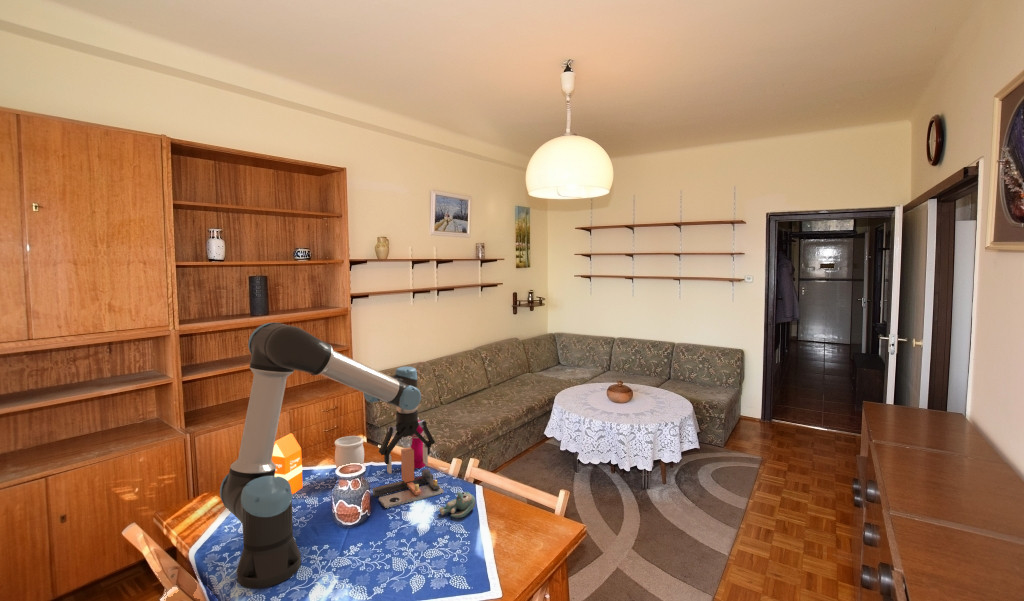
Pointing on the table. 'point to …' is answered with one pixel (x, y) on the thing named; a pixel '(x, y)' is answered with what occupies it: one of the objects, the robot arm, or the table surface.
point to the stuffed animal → (459, 505)
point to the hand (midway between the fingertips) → (407, 467)
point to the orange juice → (288, 461)
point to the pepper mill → (418, 449)
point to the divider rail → (402, 485)
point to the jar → (349, 450)
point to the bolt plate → (409, 496)
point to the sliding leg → (409, 469)
